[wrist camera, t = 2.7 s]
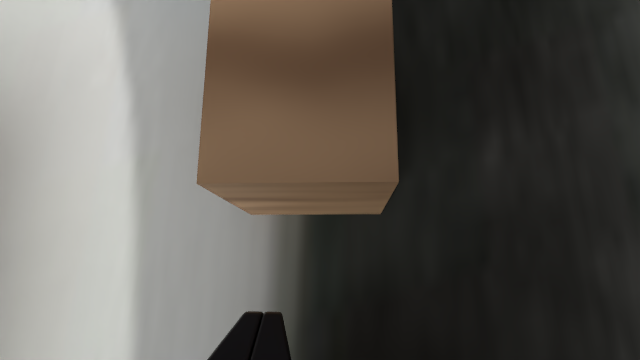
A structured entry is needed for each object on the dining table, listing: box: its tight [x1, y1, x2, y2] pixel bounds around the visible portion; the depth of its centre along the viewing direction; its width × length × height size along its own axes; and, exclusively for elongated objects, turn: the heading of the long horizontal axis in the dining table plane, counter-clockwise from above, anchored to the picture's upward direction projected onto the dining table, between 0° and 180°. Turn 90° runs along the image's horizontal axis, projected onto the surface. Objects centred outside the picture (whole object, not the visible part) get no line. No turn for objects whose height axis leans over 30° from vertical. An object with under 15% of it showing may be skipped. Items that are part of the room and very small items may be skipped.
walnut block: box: [197, 0, 399, 215], centre depth 19 cm, size 9×7×8 cm
